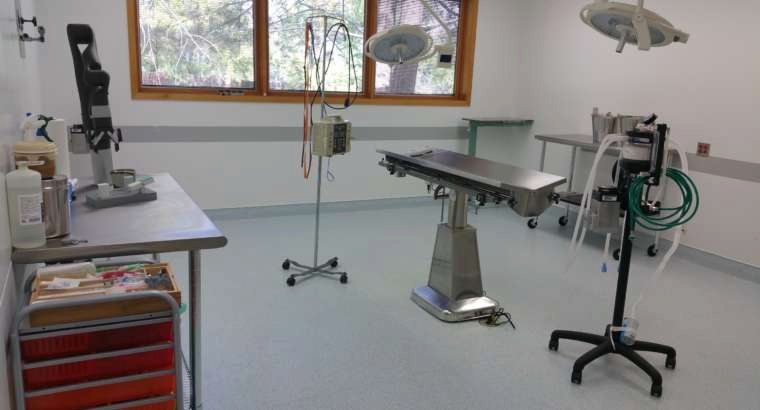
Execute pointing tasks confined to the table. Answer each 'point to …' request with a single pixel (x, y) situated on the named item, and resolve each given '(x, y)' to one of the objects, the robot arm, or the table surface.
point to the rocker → (141, 183)
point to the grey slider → (128, 181)
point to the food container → (121, 177)
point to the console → (121, 197)
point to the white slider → (103, 190)
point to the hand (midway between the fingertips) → (106, 152)
